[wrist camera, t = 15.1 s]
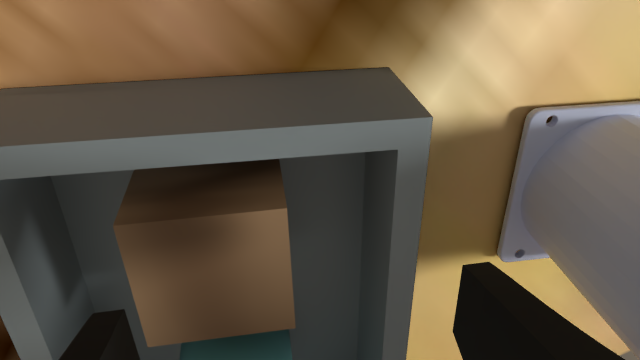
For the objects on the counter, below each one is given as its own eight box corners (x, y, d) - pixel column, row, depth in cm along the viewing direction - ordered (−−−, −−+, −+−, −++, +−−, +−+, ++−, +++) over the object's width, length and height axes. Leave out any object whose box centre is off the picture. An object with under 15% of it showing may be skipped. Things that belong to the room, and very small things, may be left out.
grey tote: (389, 67, 19) (433, 117, 15) (370, 377, 28) (394, 464, 24) (2, 88, 17) (-75, 151, 13) (114, 411, 26) (90, 511, 22)
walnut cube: (275, 137, 19) (287, 208, 15) (283, 242, 21) (295, 328, 17) (141, 148, 18) (112, 226, 14) (166, 254, 21) (147, 347, 17)
